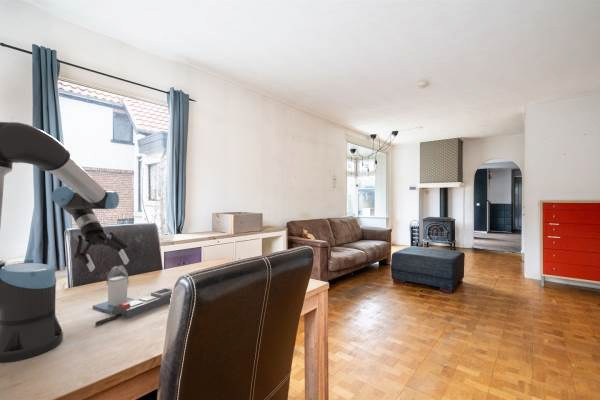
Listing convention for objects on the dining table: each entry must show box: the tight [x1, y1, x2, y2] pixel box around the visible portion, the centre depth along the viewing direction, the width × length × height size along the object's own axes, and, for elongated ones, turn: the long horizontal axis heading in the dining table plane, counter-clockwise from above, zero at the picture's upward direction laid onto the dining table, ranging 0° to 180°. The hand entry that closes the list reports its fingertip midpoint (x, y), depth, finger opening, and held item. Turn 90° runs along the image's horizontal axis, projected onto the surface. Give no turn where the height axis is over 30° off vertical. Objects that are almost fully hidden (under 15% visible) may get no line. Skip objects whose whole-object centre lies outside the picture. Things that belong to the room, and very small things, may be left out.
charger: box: [107, 276, 128, 306], centre depth 114 cm, size 5×4×10 cm
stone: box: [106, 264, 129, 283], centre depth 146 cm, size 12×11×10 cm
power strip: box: [95, 287, 173, 326], centre depth 111 cm, size 32×8×4 cm, turn 154°
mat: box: [92, 296, 136, 315], centre depth 114 cm, size 12×12×1 cm
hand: (110, 265), depth 117 cm, fingers open, 13 cm apart
